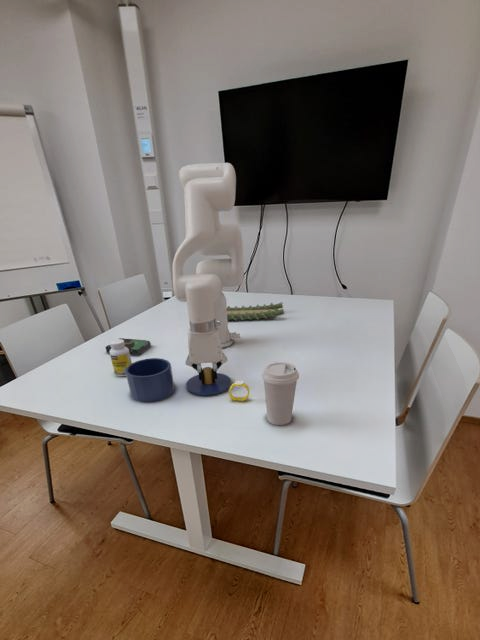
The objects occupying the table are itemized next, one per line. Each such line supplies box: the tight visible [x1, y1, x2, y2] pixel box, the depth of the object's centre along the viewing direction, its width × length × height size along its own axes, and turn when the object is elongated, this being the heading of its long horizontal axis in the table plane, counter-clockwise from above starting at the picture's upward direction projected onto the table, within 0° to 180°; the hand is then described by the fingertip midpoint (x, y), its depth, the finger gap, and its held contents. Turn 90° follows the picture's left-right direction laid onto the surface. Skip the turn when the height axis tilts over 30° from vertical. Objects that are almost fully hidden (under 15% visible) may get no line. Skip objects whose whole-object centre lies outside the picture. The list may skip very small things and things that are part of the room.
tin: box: [125, 357, 175, 403], centre depth 112 cm, size 14×14×8 cm
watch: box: [228, 379, 250, 402], centre depth 105 cm, size 6×3×6 cm, turn 85°
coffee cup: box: [260, 361, 300, 426], centre depth 93 cm, size 10×10×15 cm
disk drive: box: [105, 337, 152, 356], centre depth 144 cm, size 10×3×15 cm
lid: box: [185, 366, 232, 396], centre depth 114 cm, size 15×15×6 cm
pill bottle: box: [109, 338, 133, 377], centre depth 123 cm, size 6×6×12 cm
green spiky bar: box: [227, 302, 285, 322], centre depth 172 cm, size 41×14×5 cm, turn 88°
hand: (208, 381), depth 115 cm, fingers closed on lid, 3 cm apart
